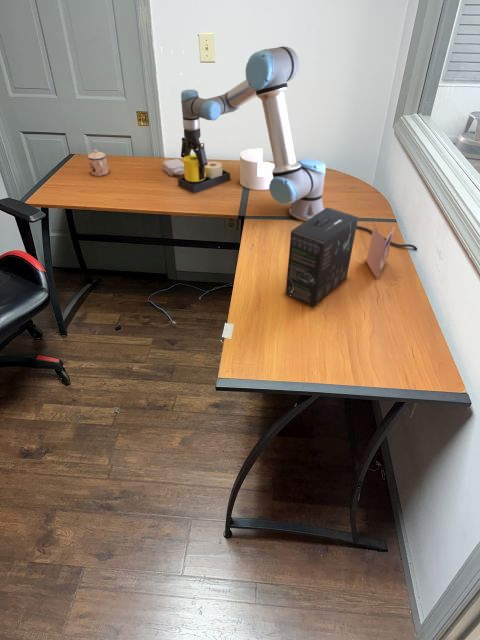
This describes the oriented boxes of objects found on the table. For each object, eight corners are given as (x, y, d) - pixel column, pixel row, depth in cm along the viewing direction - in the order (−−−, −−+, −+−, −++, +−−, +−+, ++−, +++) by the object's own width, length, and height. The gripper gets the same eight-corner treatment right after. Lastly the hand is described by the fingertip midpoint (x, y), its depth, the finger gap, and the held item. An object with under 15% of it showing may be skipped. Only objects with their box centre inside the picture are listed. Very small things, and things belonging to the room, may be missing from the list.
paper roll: (226, 178, 220) (225, 164, 216) (212, 183, 216) (211, 169, 211) (214, 173, 226) (213, 160, 221) (200, 178, 221) (199, 164, 216)
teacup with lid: (89, 171, 229) (84, 149, 221) (106, 168, 232) (102, 146, 225) (95, 179, 221) (90, 156, 213) (112, 176, 224) (108, 153, 217)
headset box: (318, 266, 159) (328, 200, 143) (347, 278, 154) (361, 210, 137) (283, 295, 146) (289, 225, 129) (314, 309, 140) (324, 238, 124)
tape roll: (205, 173, 216) (204, 154, 210) (205, 181, 208) (204, 161, 202) (185, 173, 216) (184, 154, 210) (184, 181, 208) (182, 162, 202)
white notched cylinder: (277, 191, 210) (279, 163, 202) (236, 188, 213) (236, 161, 204) (281, 175, 225) (282, 149, 217) (243, 173, 228) (243, 147, 219)
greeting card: (379, 279, 153) (388, 241, 144) (358, 273, 156) (366, 236, 146) (387, 263, 161) (396, 227, 151) (367, 258, 164) (375, 222, 154)
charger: (174, 180, 220) (163, 170, 230) (190, 176, 224) (179, 167, 234) (173, 171, 217) (162, 161, 227) (190, 167, 220) (178, 158, 230)
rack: (230, 179, 221) (230, 172, 218) (193, 193, 208) (193, 186, 206) (214, 173, 227) (214, 166, 225) (178, 185, 215) (177, 178, 213)
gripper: (214, 132, 193) (216, 180, 207) (183, 121, 205) (186, 167, 220) (201, 135, 189) (204, 185, 203) (170, 124, 202) (174, 171, 216)
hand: (195, 176), depth 211 cm, fingers closed on tape roll, 10 cm apart
